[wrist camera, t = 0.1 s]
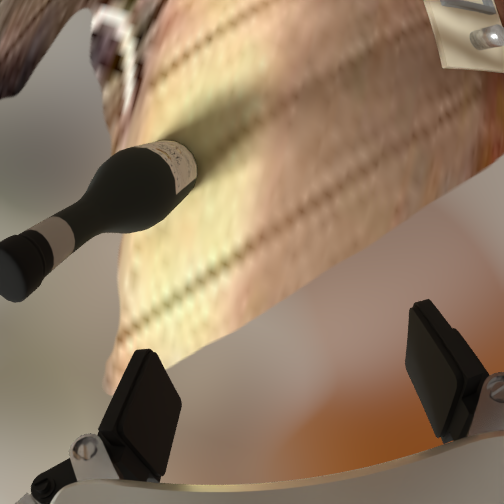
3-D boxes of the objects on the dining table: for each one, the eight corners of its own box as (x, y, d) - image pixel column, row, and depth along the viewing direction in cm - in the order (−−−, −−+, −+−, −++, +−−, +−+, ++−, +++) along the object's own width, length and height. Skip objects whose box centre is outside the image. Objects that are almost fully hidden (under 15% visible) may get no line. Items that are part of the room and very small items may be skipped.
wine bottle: (163, 127, 37) (-26, 159, 9) (211, 164, 39) (93, 271, 11) (129, 176, 39) (-48, 280, 12) (175, 212, 41) (45, 370, 14)
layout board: (403, -50, 24) (410, -58, 21) (473, -35, 23) (482, -40, 20) (442, 68, 32) (453, 65, 29) (508, 73, 30) (519, 73, 27)
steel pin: (467, 30, 27) (491, 22, 22) (481, 32, 27) (505, 26, 22) (472, 49, 29) (497, 43, 23) (486, 51, 28) (511, 46, 23)
